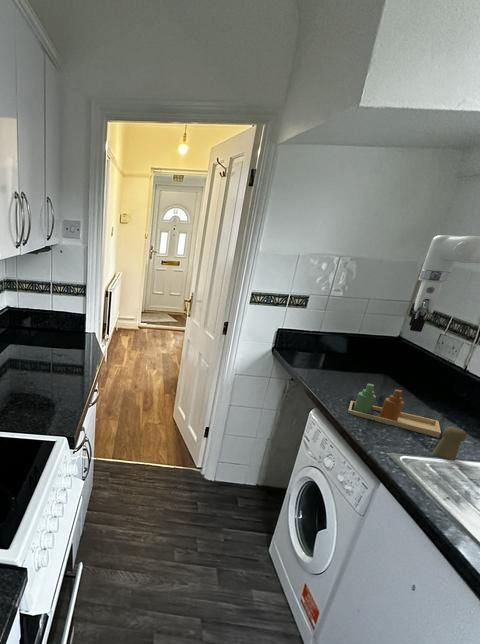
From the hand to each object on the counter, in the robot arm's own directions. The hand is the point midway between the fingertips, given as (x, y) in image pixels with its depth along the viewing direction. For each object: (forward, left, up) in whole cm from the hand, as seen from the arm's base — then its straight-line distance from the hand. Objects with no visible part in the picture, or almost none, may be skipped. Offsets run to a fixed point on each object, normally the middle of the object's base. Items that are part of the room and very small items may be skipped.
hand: (414, 328), depth 140 cm
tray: (-3, +2, -33) cm, 33 cm away
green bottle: (+7, +2, -33) cm, 34 cm away
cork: (-16, +27, -33) cm, 46 cm away
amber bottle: (-2, +2, -33) cm, 33 cm away
